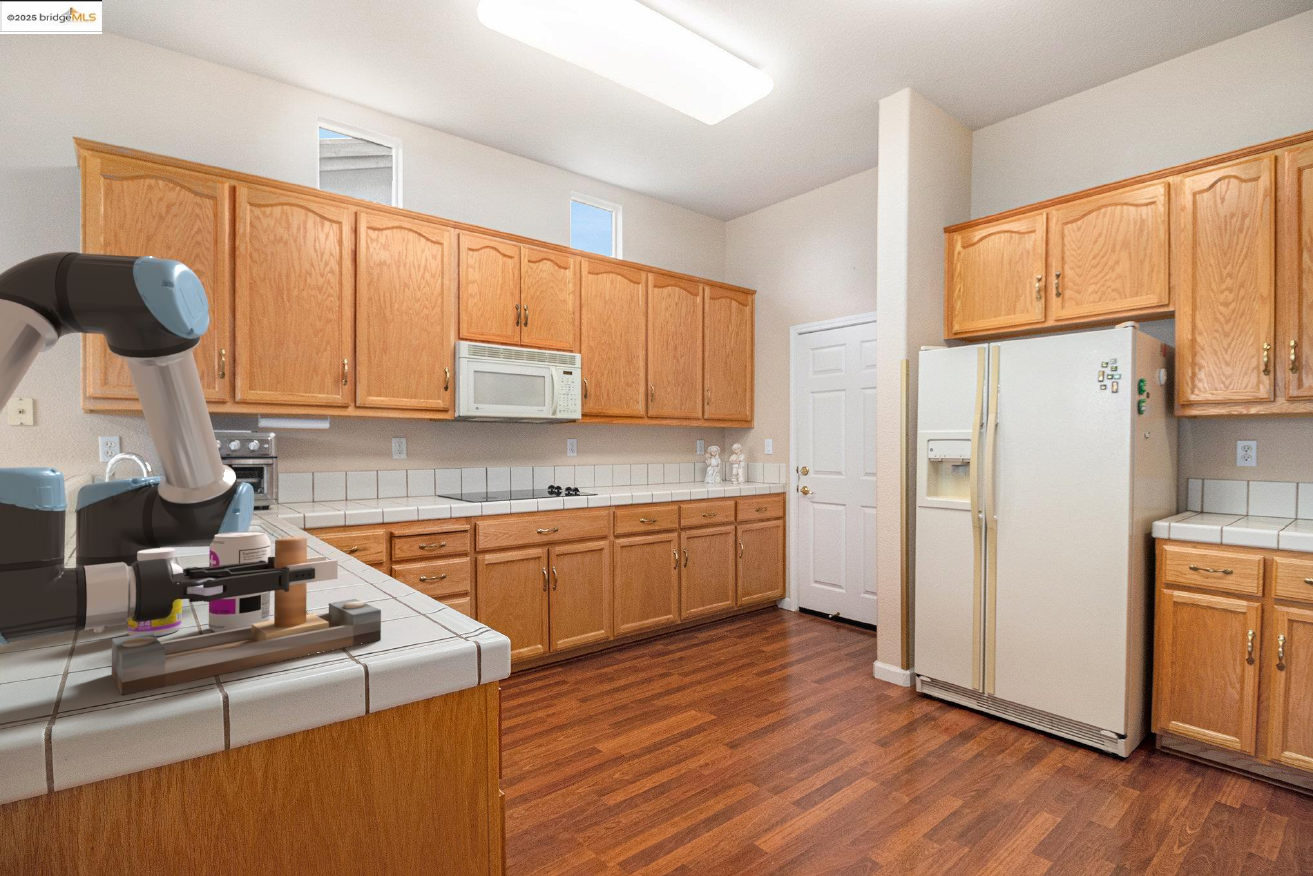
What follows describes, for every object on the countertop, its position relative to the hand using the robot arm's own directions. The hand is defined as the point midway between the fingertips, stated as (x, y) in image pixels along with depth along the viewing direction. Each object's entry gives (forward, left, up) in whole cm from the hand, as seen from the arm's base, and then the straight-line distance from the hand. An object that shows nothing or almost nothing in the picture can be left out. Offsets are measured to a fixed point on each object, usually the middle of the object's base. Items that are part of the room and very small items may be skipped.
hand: (330, 567), depth 96 cm
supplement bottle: (-24, -17, -11) cm, 32 cm away
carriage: (0, -5, -9) cm, 11 cm away
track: (0, -9, -11) cm, 15 cm away
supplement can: (-18, -7, -11) cm, 22 cm away
